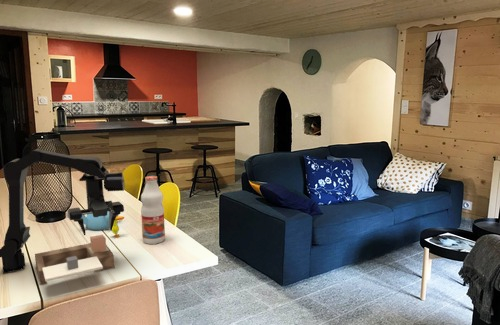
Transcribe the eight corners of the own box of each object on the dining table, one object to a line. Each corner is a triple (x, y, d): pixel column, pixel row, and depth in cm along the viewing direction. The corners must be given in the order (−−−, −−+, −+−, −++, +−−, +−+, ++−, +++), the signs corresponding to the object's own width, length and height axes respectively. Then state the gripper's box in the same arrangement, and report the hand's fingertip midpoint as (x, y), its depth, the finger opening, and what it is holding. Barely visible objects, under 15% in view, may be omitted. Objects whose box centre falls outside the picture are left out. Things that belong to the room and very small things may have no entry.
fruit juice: (162, 235, 174) (160, 173, 169) (167, 242, 166) (165, 178, 161) (140, 238, 170) (137, 175, 165) (144, 245, 162) (141, 180, 157)
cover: (45, 281, 120) (44, 270, 120) (42, 270, 128) (41, 259, 128) (102, 268, 130) (102, 257, 129) (96, 258, 137) (95, 248, 137)
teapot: (77, 231, 178) (75, 208, 176) (92, 220, 193) (90, 199, 191) (110, 232, 178) (108, 209, 176) (122, 221, 192) (121, 200, 190)
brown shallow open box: (40, 285, 129) (38, 270, 128) (36, 266, 142) (34, 253, 142) (114, 267, 142) (113, 254, 141) (104, 252, 155) (103, 240, 154)
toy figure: (124, 233, 176) (123, 208, 173) (126, 236, 172) (124, 210, 170) (108, 236, 172) (107, 210, 170) (110, 239, 169) (108, 212, 167)
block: (93, 252, 143) (92, 240, 142) (90, 248, 146) (90, 236, 146) (106, 249, 145) (105, 238, 144) (103, 245, 149) (102, 234, 148)
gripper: (70, 200, 130) (74, 245, 133) (127, 193, 140) (129, 234, 143) (65, 193, 139) (69, 235, 142) (118, 186, 149) (121, 225, 152)
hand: (97, 232), depth 145 cm, fingers open, 9 cm apart
